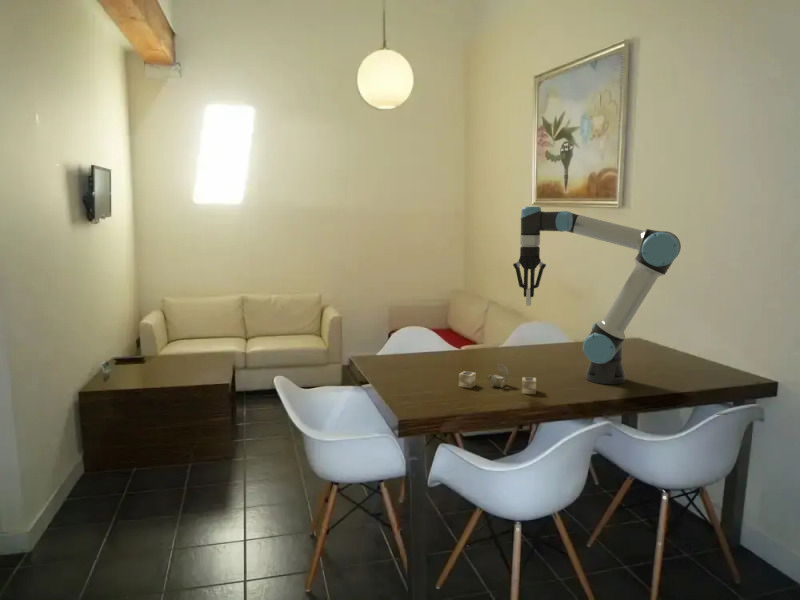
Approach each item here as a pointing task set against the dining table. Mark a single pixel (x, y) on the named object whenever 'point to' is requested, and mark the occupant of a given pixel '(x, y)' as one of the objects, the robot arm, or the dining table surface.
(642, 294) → the robot arm
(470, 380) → the marked cube 1
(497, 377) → the white irregular piece
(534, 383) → the marked cube 2
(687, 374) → the dining table surface
